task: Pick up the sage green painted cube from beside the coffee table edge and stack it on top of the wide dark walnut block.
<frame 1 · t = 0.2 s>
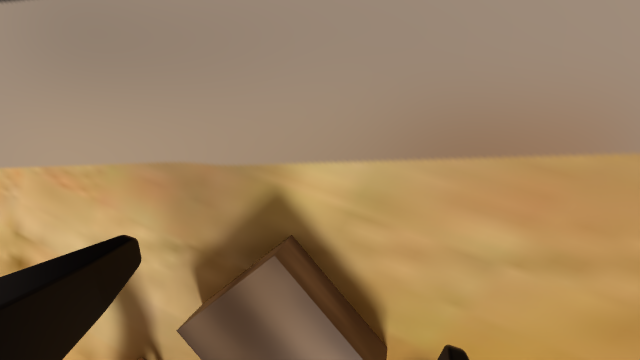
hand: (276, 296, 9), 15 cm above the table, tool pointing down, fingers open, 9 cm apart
walnut block: (289, 321, 28), on the table
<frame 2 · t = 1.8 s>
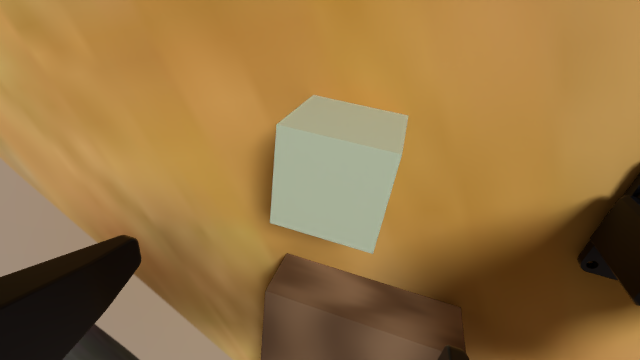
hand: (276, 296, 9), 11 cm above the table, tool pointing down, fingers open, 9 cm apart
sage cube: (351, 148, 18), on the table
walnut block: (354, 328, 25), on the table
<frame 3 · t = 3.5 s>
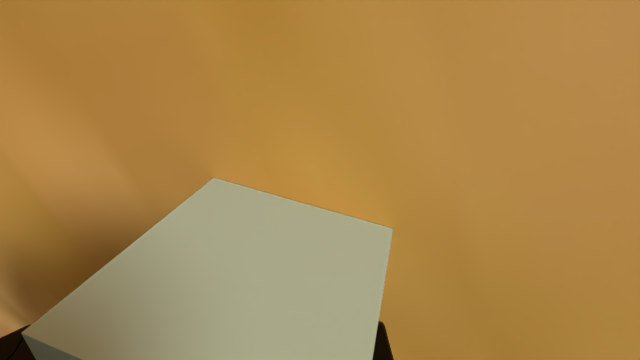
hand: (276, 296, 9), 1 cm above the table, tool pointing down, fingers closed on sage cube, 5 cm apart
sage cube: (290, 269, 10), on the table, touching gripper
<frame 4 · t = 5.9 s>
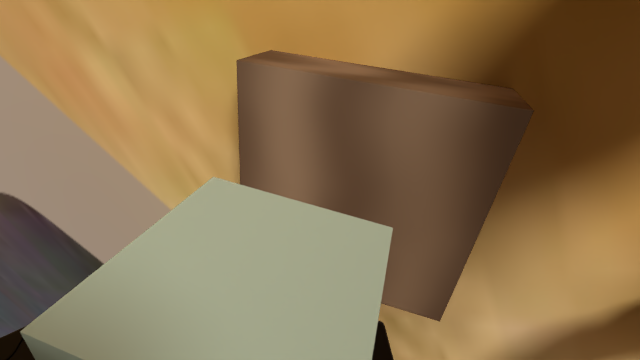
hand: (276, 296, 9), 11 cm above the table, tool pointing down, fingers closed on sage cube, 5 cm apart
sage cube: (290, 268, 10), point 10 cm above the table, touching gripper
walnut block: (363, 170, 19), on the table
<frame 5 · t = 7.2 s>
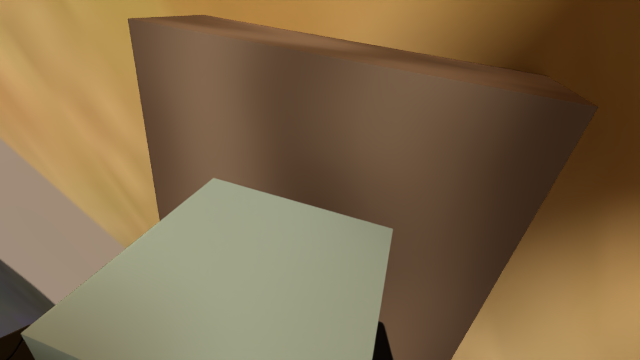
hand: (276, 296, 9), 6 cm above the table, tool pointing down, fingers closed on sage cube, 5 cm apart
sage cube: (290, 269, 10), point 5 cm above the table, touching gripper
walnut block: (334, 184, 14), on the table
when the fingers open (6 cm above the table, at t = 8.0 s): sage cube drops 1 cm, resting on walnut block.
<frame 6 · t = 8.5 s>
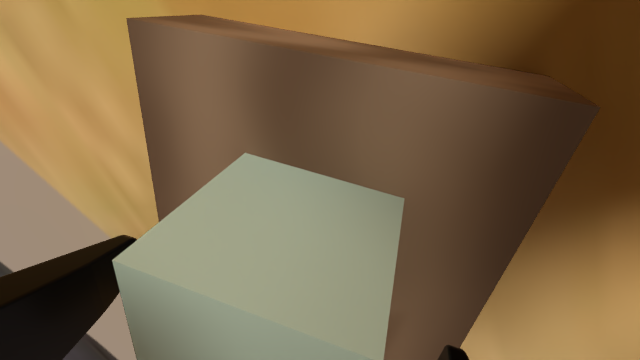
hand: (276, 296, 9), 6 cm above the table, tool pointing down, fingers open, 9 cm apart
sage cube: (309, 237, 11), point 3 cm above the table, touching walnut block
walnut block: (334, 185, 14), on the table, touching sage cube
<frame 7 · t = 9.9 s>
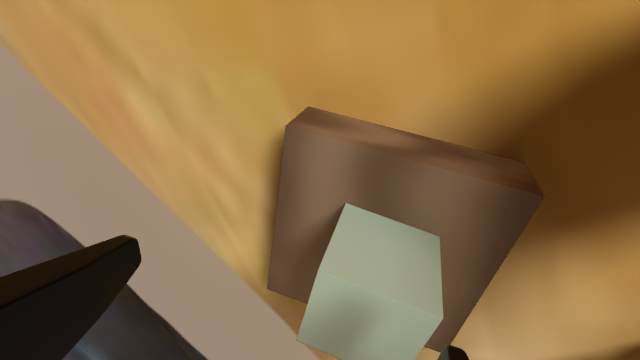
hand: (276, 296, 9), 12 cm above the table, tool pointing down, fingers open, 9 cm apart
sage cube: (376, 253, 18), point 4 cm above the table
walnut block: (382, 213, 21), on the table
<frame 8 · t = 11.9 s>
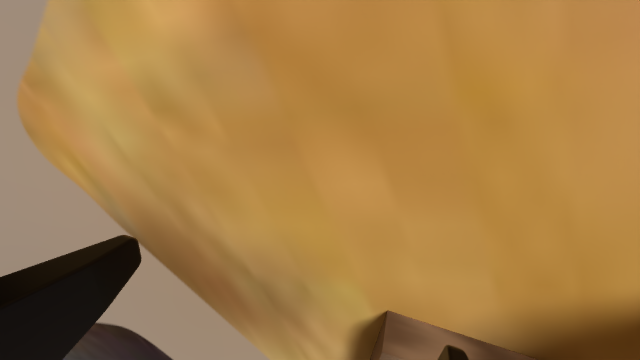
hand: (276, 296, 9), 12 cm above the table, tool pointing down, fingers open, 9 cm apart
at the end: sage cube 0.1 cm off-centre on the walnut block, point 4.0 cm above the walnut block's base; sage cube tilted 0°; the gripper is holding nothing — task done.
